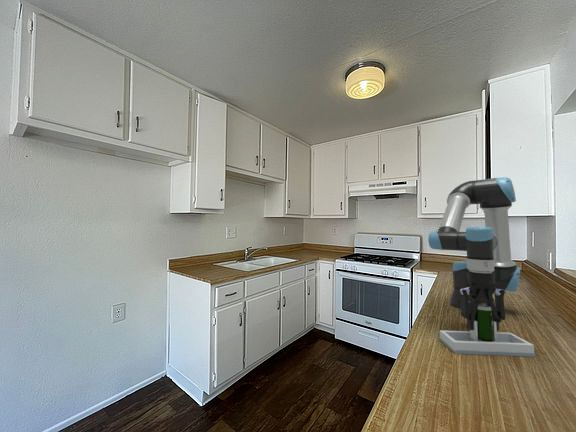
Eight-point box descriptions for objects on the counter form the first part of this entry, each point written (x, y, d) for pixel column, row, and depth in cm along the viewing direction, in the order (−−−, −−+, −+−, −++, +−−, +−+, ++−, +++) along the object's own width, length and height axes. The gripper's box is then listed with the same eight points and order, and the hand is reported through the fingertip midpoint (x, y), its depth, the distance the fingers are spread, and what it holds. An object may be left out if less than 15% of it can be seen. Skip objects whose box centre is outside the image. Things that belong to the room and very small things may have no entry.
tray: (439, 339, 91) (439, 330, 91) (510, 342, 88) (509, 332, 89) (454, 353, 81) (454, 342, 81) (535, 356, 78) (534, 345, 79)
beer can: (477, 343, 83) (476, 306, 84) (471, 336, 88) (469, 302, 89) (497, 345, 81) (495, 308, 82) (489, 338, 87) (487, 303, 87)
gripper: (458, 273, 83) (461, 343, 82) (518, 273, 81) (522, 345, 80) (446, 269, 91) (449, 334, 89) (501, 269, 89) (504, 335, 88)
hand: (483, 339), depth 85 cm, fingers closed on beer can, 5 cm apart
